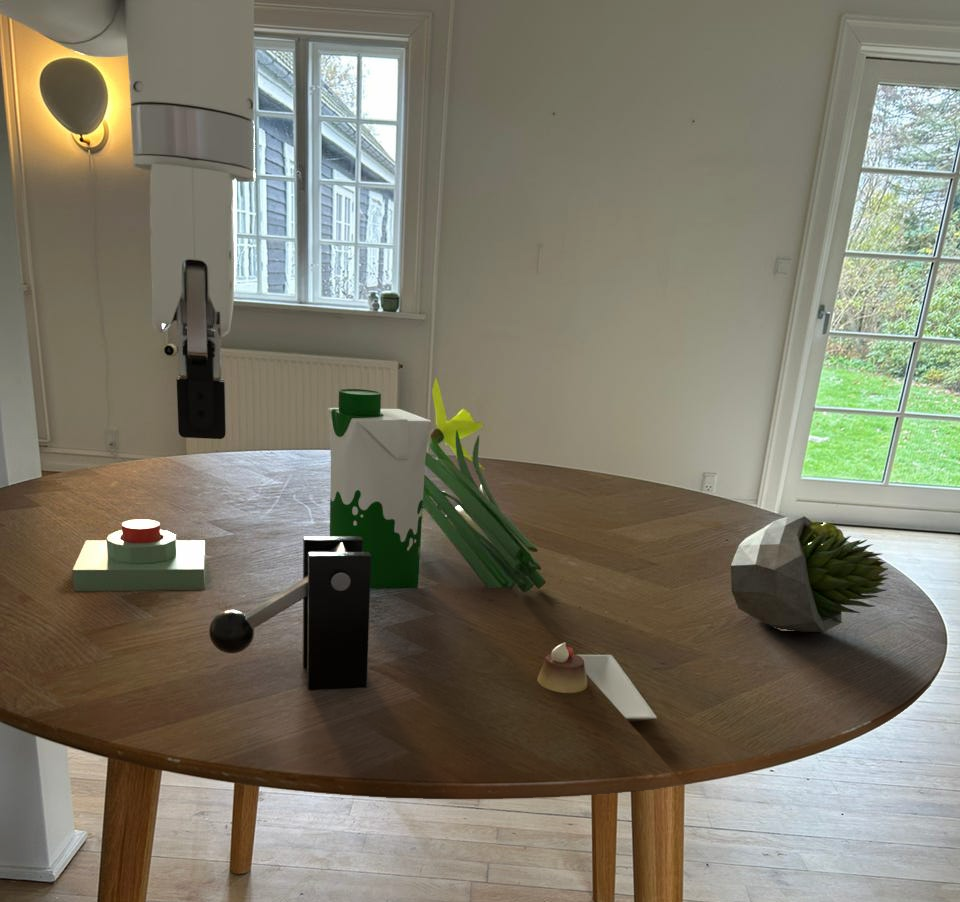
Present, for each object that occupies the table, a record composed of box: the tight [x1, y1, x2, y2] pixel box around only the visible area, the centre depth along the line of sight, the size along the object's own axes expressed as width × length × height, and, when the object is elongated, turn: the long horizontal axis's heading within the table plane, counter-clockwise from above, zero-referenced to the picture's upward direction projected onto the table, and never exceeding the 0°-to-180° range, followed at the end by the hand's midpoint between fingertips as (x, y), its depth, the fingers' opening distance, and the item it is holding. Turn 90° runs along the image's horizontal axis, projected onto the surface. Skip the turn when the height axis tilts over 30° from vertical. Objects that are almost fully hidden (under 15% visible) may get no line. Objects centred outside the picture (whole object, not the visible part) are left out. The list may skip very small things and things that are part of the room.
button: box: [121, 518, 161, 543], centre depth 89 cm, size 4×4×2 cm
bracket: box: [302, 535, 371, 691], centre depth 67 cm, size 12×9×12 cm
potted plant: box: [730, 515, 890, 633], centre depth 89 cm, size 12×13×15 cm
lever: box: [208, 543, 348, 654], centre depth 65 cm, size 12×3×3 cm
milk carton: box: [327, 388, 432, 590], centre depth 89 cm, size 9×9×20 cm
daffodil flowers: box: [422, 376, 547, 593], centre depth 105 cm, size 17×15×35 cm
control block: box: [71, 529, 207, 592], centre depth 90 cm, size 12×10×4 cm
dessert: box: [536, 638, 658, 723], centre depth 71 cm, size 12×12×5 cm
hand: (202, 435), depth 64 cm, fingers closed
